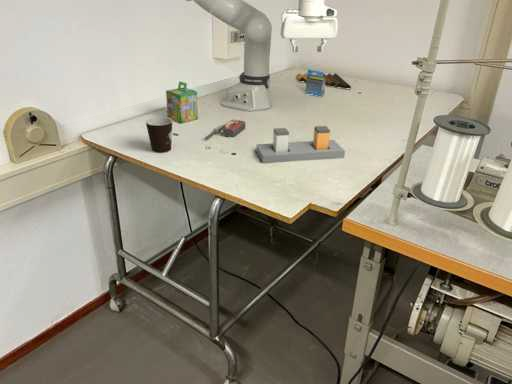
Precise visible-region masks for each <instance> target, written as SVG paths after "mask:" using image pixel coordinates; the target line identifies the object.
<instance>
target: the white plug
mask: <svg viewBox="0 0 512 384" xmlns="http://www.w3.org/2000/svg"><path fill="white" fill-rule="evenodd" d="M289 135H290V131H288V129H287V128H286V127H280V128H279V127H277V128H275V127H274V128H273V135H272V136H273V137H272V138H273V140H272V141H273V142H272V143H273V151H274V153H275V152H288V142H289Z"/></svg>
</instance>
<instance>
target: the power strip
mask: <svg viewBox="0 0 512 384" xmlns="http://www.w3.org/2000/svg"><path fill="white" fill-rule="evenodd" d="M255 148H256V150H255V151H256V153H257V155H258V157H259V158H260V160H261V162H262V164H269V163H270V164H272V163H273V164H274V163H284V162H285V163H286V162H297V161H298V162H301V161H317V160H330V159H331V160H333V159H343V158H345V153H346V150H345V149H344V148H343V147H342V146H341V145H340V144H339V143H338V142H336V140H334V139H329V143H328V149H323V150H314V148H313V140H311V141H310V140H309V141H307V140H306V141H292V142H290V141H288V152H275V153H274V151H273V142H272V143H257V144H256V147H255Z"/></svg>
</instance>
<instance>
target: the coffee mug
mask: <svg viewBox="0 0 512 384" xmlns="http://www.w3.org/2000/svg"><path fill="white" fill-rule="evenodd" d="M145 125H146V129H147V134H148V139H149V143H150V147H151V151H152V152H154V153H157V154H161V153H163V154H165V153H168V152H170V151H171V150H172V136H173V134H172V133H173V120H172V119H170V118H167V117H166V116H154V117H150V118H148V119H146V120H145Z"/></svg>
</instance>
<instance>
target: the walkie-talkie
mask: <svg viewBox="0 0 512 384" xmlns="http://www.w3.org/2000/svg"><path fill="white" fill-rule="evenodd" d="M244 130H246V122H245V121H244V120H239V119H232V120H229V121H228V122H226V123H225V124H220V125H218V126H216V127H215V128H214V127H213V131H212V132H211V133H209V134H208V135H206V136H205V137H204V138H205V140H208V139H210V138H211V137H213V136H214V135H218V136H223V137H228V138H235V137H237V136H238V135H239V134H240V133H242V132H243V131H244Z"/></svg>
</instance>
